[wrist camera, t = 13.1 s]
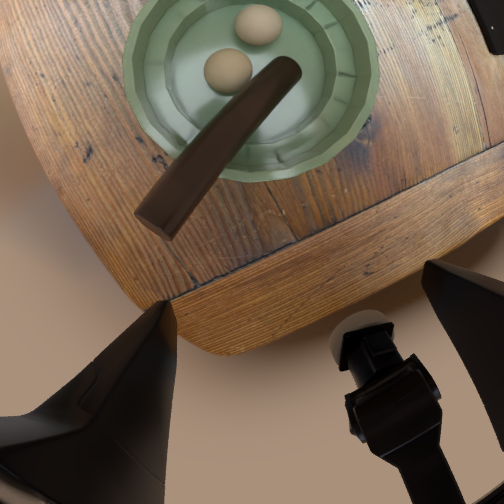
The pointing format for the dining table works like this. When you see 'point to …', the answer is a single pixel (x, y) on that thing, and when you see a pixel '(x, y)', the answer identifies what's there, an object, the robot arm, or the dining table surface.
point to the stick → (215, 148)
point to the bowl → (211, 101)
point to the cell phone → (491, 22)
